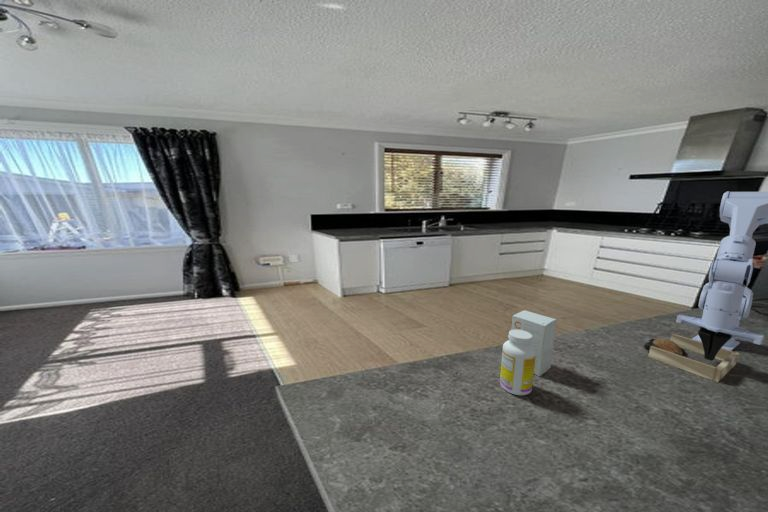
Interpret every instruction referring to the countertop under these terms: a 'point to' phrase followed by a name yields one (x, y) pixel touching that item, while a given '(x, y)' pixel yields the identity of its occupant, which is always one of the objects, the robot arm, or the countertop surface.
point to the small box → (538, 337)
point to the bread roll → (664, 346)
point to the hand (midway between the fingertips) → (709, 358)
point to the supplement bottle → (518, 363)
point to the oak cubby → (693, 365)
